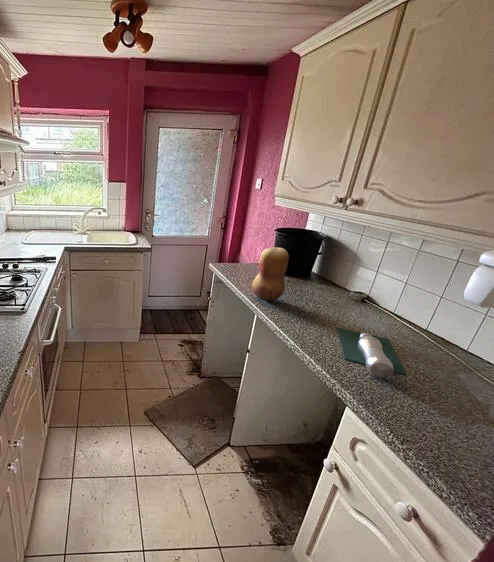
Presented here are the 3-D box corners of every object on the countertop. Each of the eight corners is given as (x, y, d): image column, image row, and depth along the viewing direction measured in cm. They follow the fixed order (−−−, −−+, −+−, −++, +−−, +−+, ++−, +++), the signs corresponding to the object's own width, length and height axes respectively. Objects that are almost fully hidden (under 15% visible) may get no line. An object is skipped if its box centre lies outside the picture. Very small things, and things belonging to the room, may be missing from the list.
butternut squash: (244, 294, 151) (254, 244, 142) (269, 293, 154) (280, 243, 145) (261, 306, 139) (273, 252, 129) (288, 305, 141) (301, 252, 132)
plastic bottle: (363, 365, 94) (350, 332, 110) (374, 383, 94) (359, 348, 111) (389, 359, 90) (371, 326, 107) (400, 377, 91) (381, 342, 107)
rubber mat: (406, 375, 96) (406, 374, 96) (344, 359, 103) (344, 358, 102) (387, 339, 116) (387, 338, 115) (336, 328, 122) (336, 327, 122)
